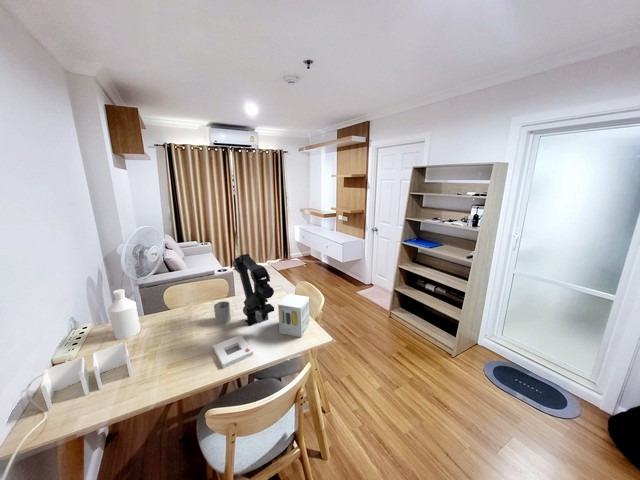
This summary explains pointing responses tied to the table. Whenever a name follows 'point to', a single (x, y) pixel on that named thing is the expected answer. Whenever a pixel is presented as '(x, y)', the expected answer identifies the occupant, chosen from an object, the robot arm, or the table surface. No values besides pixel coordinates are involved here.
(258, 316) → the plug
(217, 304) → the cup
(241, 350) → the socket plate
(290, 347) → the table surface
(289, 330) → the supplement box
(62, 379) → the white u-channel brackets
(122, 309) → the bottle
